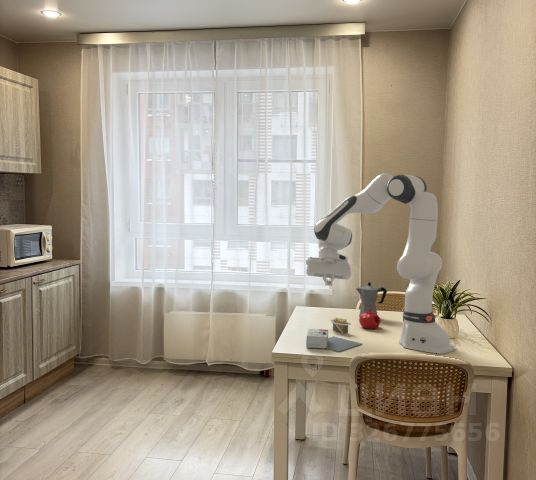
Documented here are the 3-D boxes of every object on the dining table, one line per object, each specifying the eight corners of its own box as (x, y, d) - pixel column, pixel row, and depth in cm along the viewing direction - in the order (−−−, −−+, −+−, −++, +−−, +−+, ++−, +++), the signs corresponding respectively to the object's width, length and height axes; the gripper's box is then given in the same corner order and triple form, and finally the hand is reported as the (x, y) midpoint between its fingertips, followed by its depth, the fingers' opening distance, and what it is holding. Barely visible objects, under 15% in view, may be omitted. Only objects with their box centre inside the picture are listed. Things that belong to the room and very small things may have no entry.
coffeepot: (356, 319, 274) (357, 283, 272) (354, 315, 283) (355, 280, 281) (387, 320, 273) (388, 284, 271) (384, 315, 282) (385, 281, 280)
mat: (362, 344, 230) (362, 343, 230) (338, 352, 219) (338, 351, 218) (333, 337, 240) (333, 336, 240) (310, 344, 229) (310, 343, 229)
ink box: (328, 329, 233) (327, 337, 222) (327, 340, 234) (327, 348, 222) (308, 328, 234) (306, 335, 223) (307, 339, 235) (306, 347, 223)
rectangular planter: (349, 339, 239) (350, 324, 238) (315, 332, 250) (315, 317, 250) (363, 334, 248) (363, 319, 248) (329, 327, 259) (330, 313, 259)
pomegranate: (358, 329, 255) (358, 310, 254) (359, 324, 264) (360, 305, 263) (380, 331, 252) (380, 311, 251) (380, 325, 262) (381, 306, 261)
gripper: (307, 253, 251) (307, 279, 243) (351, 257, 253) (352, 283, 245) (304, 260, 256) (304, 286, 248) (347, 264, 258) (349, 290, 250)
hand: (328, 285), depth 247 cm, fingers closed
